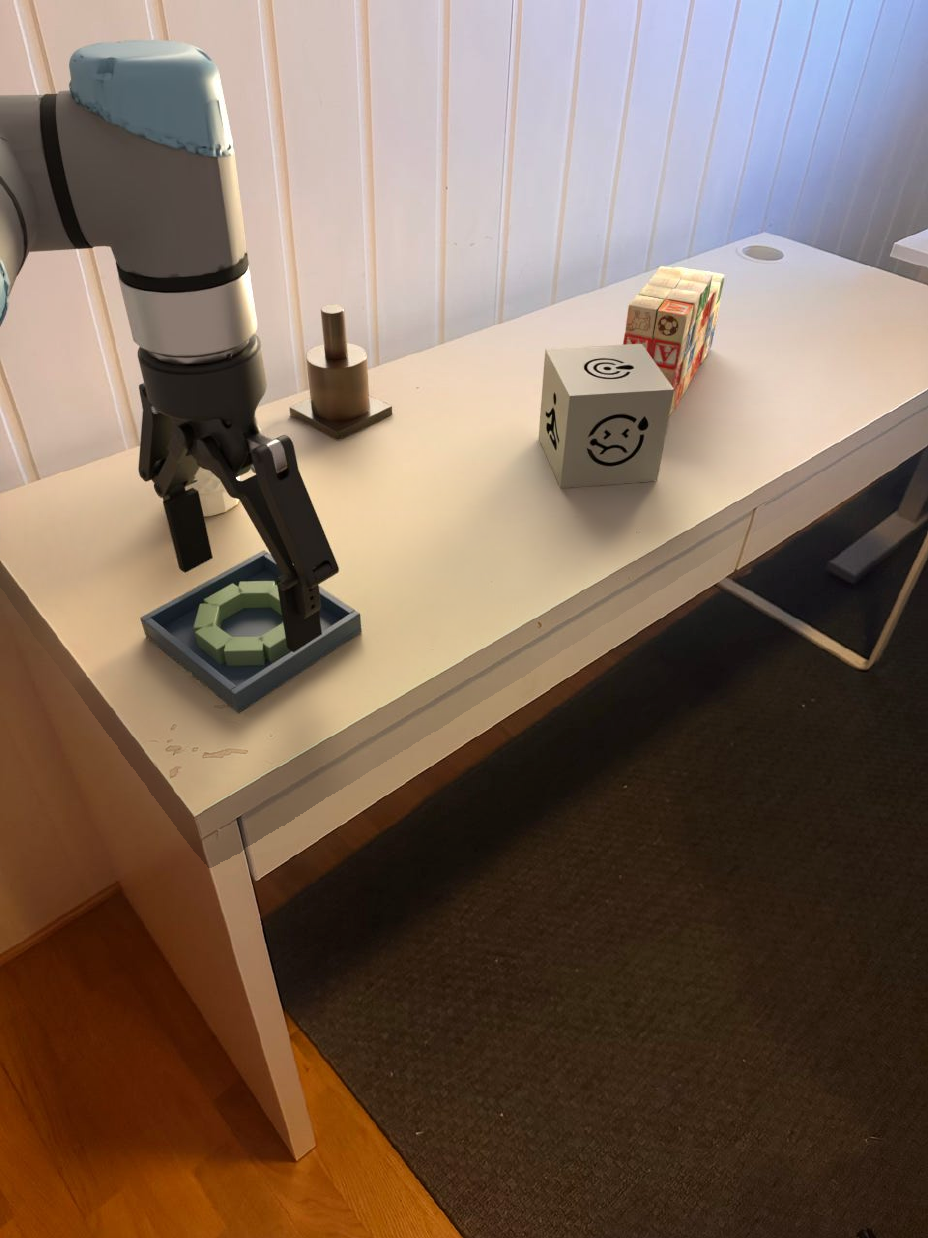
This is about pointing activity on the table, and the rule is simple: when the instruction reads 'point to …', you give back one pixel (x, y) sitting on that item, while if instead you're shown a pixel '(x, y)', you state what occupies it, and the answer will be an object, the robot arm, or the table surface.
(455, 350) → the table surface
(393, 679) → the table surface
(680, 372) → the stack of blocks
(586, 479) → the icon cube
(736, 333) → the table surface
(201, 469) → the white cup
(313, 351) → the peg stand
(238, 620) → the tray
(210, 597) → the ring
